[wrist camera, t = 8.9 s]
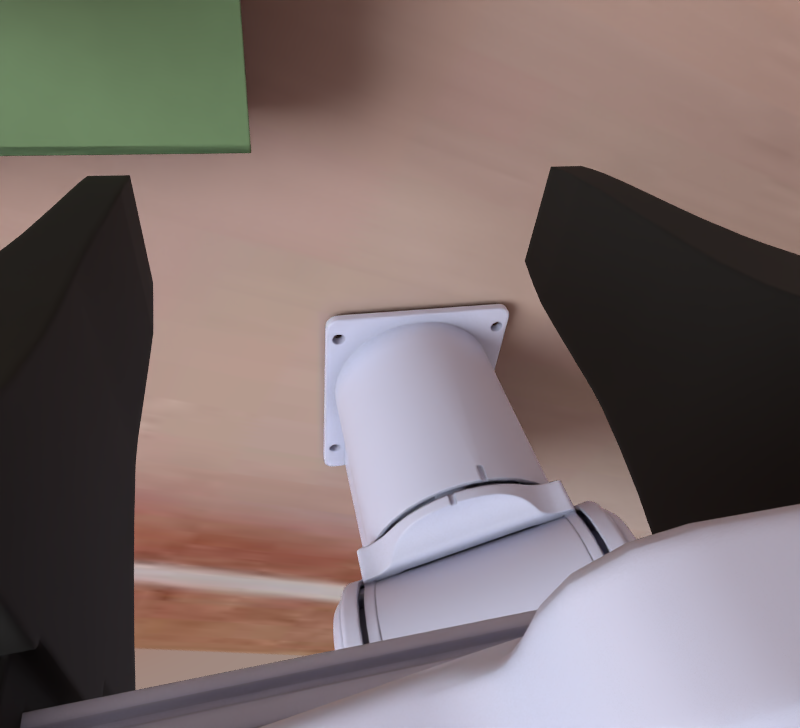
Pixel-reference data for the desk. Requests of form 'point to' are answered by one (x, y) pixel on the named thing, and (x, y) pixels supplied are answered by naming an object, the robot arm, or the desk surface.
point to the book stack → (122, 77)
